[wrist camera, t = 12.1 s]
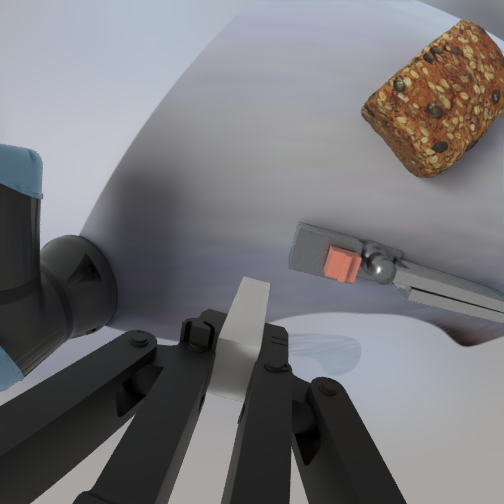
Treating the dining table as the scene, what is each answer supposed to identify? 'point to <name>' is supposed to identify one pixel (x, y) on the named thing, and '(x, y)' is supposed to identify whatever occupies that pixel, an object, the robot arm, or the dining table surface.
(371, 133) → the dining table surface
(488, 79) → the bread
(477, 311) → the base
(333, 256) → the tab
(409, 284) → the jaw
